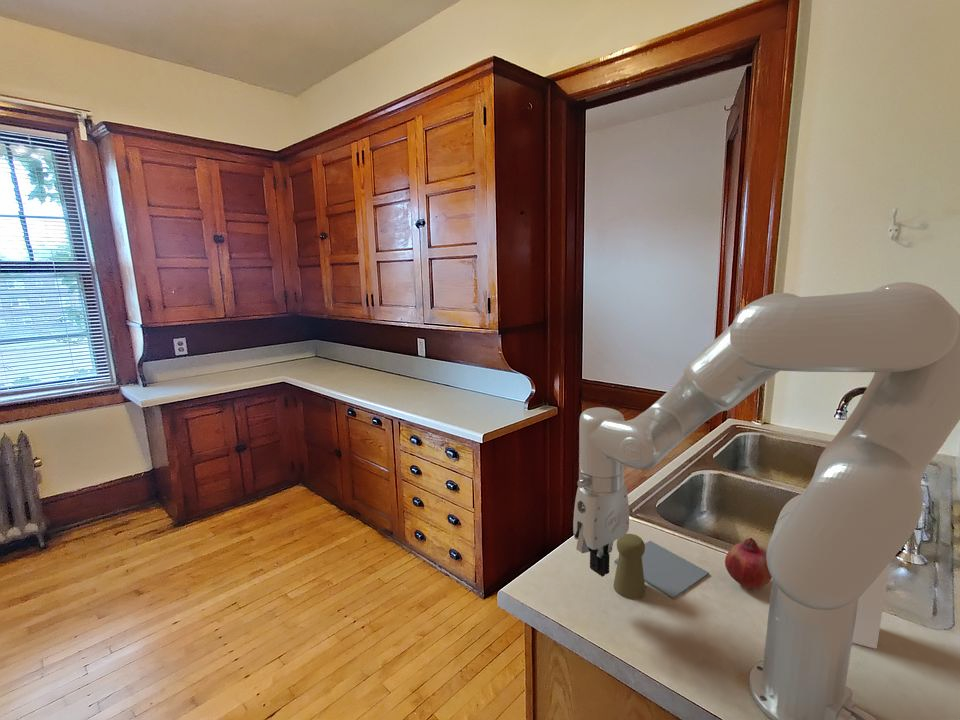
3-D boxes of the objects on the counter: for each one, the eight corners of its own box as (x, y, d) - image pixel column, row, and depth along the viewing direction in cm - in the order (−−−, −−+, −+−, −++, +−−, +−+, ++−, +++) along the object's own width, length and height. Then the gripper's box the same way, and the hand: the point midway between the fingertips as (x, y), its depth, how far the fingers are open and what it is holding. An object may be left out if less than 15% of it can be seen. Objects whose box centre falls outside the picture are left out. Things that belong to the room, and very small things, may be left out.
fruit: (780, 590, 90) (785, 543, 88) (752, 604, 87) (757, 556, 84) (741, 567, 97) (745, 523, 95) (714, 579, 94) (718, 534, 92)
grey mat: (709, 574, 95) (709, 572, 95) (673, 599, 89) (673, 597, 88) (650, 542, 106) (650, 540, 106) (614, 562, 100) (614, 560, 100)
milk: (831, 638, 78) (846, 518, 74) (824, 613, 84) (837, 500, 79) (877, 649, 76) (896, 526, 71) (867, 623, 81) (883, 507, 77)
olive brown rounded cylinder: (641, 578, 95) (643, 529, 92) (649, 599, 89) (651, 547, 87) (610, 577, 95) (612, 528, 93) (616, 598, 89) (617, 546, 87)
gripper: (587, 499, 75) (586, 600, 79) (646, 473, 83) (642, 565, 87) (554, 482, 81) (555, 576, 85) (612, 460, 89) (610, 546, 93)
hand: (599, 570), depth 86 cm, fingers closed
